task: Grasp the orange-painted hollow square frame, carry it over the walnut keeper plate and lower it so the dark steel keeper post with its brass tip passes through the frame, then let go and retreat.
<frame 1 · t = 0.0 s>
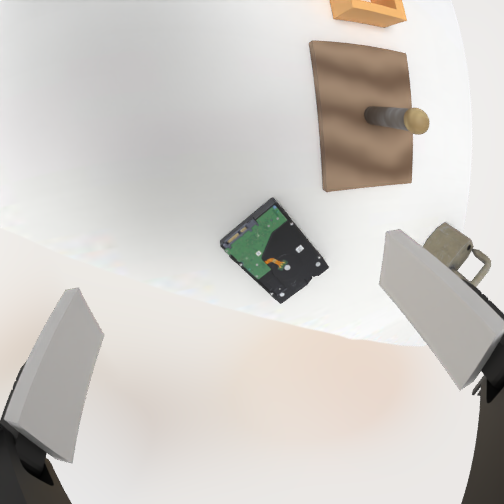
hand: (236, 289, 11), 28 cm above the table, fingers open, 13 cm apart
padlock: (434, 238, 47), on the table
keeper: (366, 115, 34), on the table
disk drive: (274, 249, 43), on the table
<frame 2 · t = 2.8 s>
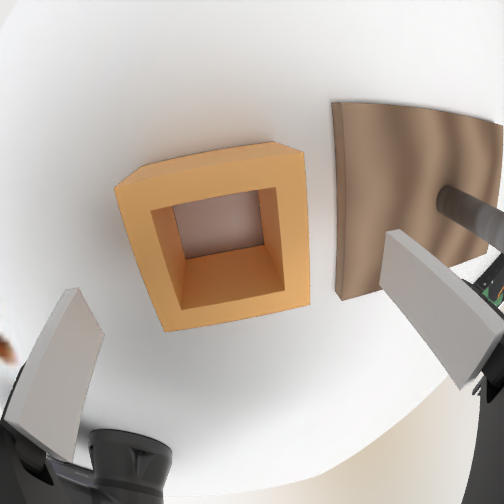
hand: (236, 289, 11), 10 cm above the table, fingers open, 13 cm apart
keeper: (435, 194, 21), on the table
hollow square frame: (217, 214, 19), on the table
bluetooth speaker: (83, 468, 43), on the table
disk drive: (491, 279, 31), on the table
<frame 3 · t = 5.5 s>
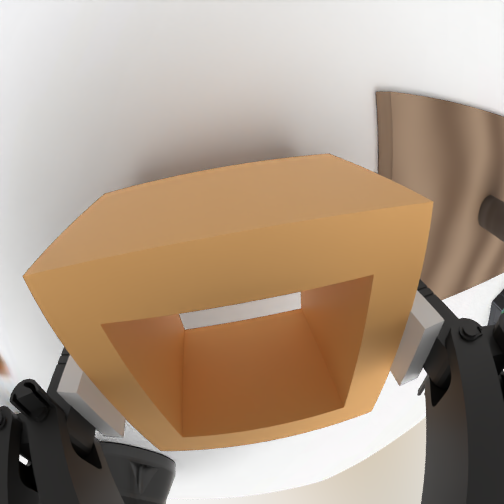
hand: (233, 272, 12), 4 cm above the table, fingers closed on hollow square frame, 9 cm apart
keeper: (475, 204, 17), on the table
hollow square frame: (233, 270, 12), point 4 cm above the table, touching gripper
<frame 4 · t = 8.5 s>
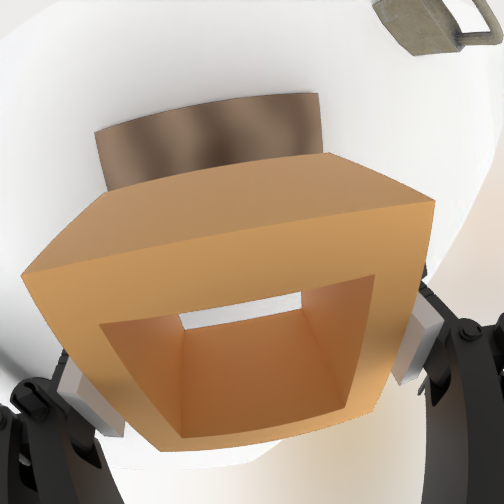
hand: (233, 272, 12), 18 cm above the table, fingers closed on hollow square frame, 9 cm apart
padlock: (397, 27, 20), on the table
keeper: (216, 180, 27), on the table
hollow square frame: (233, 270, 12), point 17 cm above the table, touching gripper
when the fingers open (3 cm above the table, at t = 11.5 s): hollow square frame drops 2 cm, resting on keeper.
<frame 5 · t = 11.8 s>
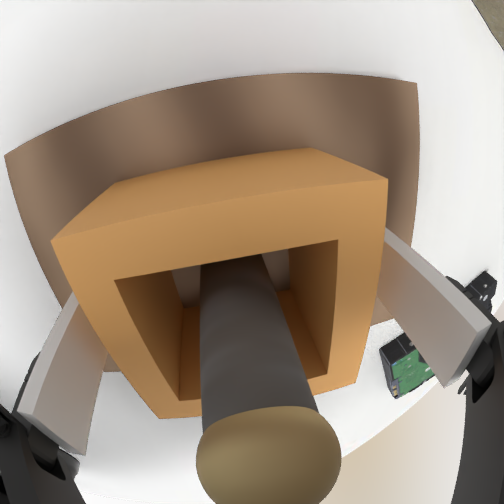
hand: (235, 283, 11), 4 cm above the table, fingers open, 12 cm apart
padlock: (485, 10, 8), on the table
keeper: (227, 237, 15), on the table
hollow square frame: (227, 251, 13), point 1 cm above the table, touching keeper
disk drive: (435, 331, 24), on the table
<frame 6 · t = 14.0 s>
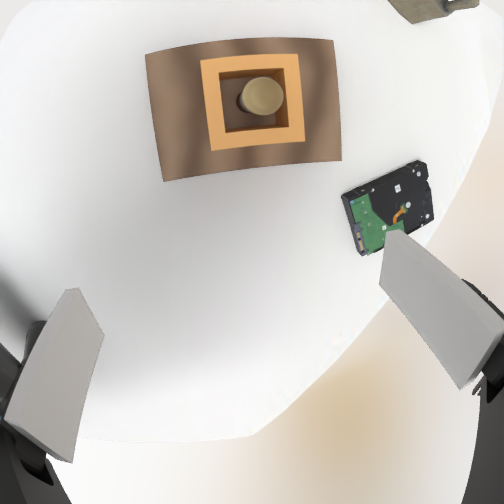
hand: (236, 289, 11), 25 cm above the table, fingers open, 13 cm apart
padlock: (397, 1, 21), on the table
keeper: (247, 102, 29), on the table
hollow square frame: (247, 101, 27), point 1 cm above the table, touching keeper
disk drive: (387, 204, 38), on the table
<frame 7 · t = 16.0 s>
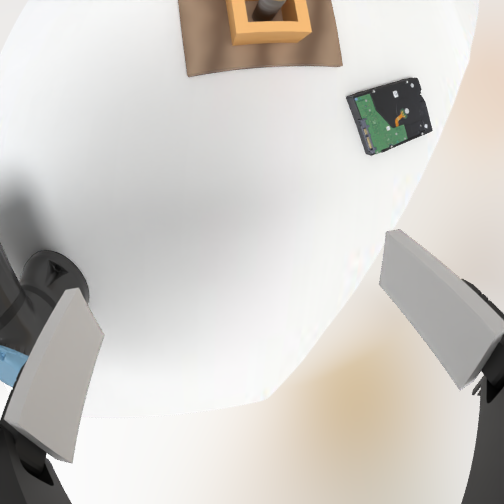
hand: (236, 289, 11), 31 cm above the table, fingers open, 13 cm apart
keeper: (260, 20, 28), on the table
hollow square frame: (261, 16, 27), point 1 cm above the table, touching keeper
disk drive: (387, 113, 37), on the table
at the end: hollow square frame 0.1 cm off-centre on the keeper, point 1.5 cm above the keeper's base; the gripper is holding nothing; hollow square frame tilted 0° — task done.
